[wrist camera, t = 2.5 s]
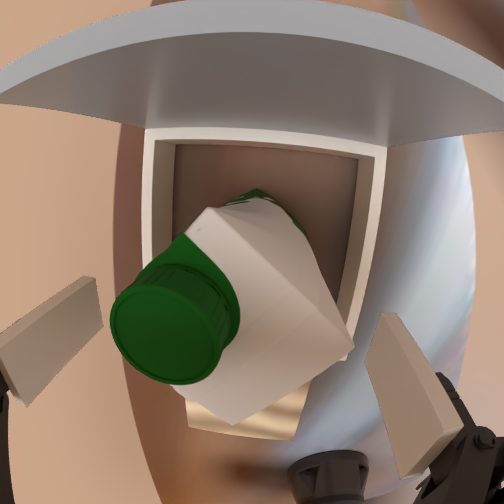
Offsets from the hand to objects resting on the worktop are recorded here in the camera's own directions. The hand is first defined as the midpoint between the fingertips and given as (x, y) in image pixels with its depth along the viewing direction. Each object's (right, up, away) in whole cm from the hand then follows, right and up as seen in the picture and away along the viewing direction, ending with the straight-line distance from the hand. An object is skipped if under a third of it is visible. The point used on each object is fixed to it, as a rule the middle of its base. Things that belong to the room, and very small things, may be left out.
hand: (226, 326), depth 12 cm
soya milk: (+2, +4, +16) cm, 17 cm away
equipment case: (+2, +8, +15) cm, 17 cm away
